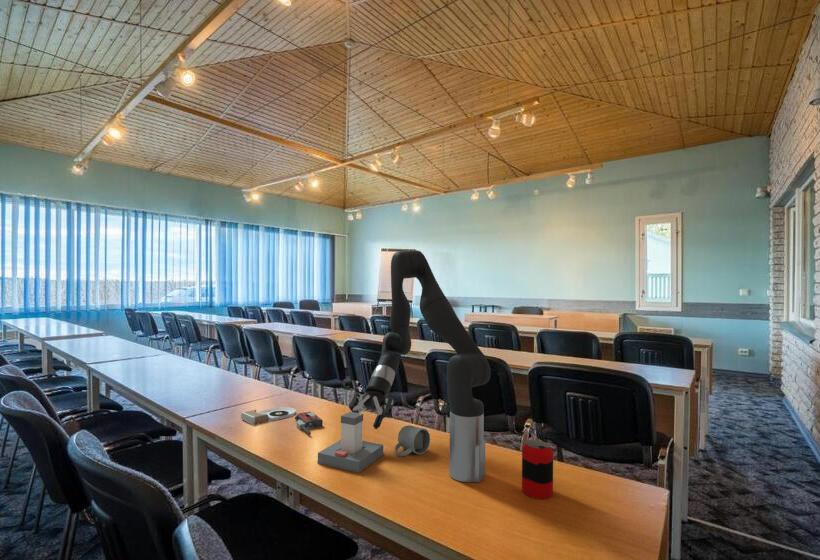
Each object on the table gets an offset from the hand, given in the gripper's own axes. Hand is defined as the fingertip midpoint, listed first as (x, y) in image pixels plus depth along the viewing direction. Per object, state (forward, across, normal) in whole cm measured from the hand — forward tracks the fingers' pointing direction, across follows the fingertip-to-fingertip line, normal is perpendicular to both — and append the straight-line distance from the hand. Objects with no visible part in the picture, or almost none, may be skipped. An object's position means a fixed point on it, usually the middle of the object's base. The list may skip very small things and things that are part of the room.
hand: (363, 425), depth 130 cm
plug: (+10, 0, +1) cm, 10 cm away
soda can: (+8, +53, +3) cm, 54 cm away
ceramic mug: (+2, +14, +10) cm, 17 cm away
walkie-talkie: (-2, -29, +14) cm, 32 cm away
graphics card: (-4, -50, +16) cm, 52 cm away
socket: (+10, 0, +1) cm, 10 cm away
